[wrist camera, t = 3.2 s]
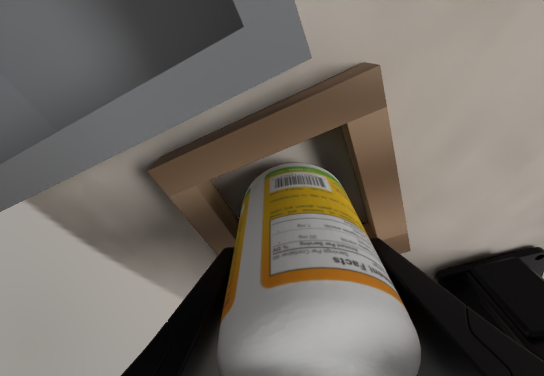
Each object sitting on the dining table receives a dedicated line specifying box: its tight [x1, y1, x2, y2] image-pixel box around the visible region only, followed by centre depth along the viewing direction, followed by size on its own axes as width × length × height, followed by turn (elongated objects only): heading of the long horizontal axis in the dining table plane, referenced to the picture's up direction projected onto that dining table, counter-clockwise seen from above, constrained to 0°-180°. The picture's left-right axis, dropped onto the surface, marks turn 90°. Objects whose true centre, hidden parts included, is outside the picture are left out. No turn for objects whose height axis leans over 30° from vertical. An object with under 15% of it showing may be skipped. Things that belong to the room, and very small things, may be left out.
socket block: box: [147, 62, 410, 255], centre depth 12 cm, size 10×10×2 cm
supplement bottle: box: [217, 163, 421, 376], centre depth 8 cm, size 5×5×10 cm
